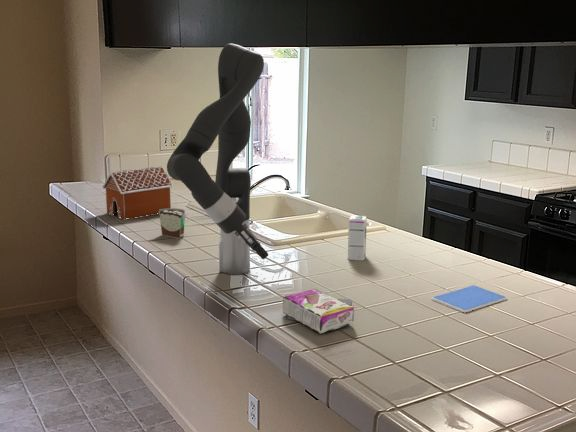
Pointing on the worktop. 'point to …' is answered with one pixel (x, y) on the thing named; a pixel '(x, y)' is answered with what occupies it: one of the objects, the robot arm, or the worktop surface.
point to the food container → (172, 222)
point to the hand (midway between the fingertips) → (265, 256)
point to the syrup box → (357, 237)
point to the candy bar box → (318, 310)
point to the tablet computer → (469, 298)
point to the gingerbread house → (137, 191)
